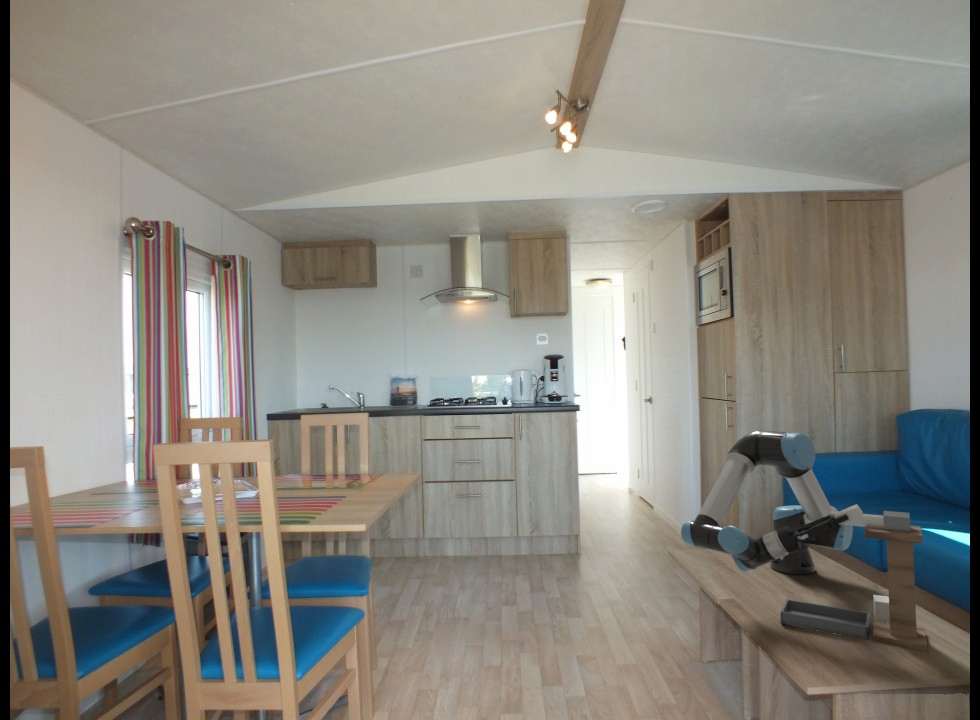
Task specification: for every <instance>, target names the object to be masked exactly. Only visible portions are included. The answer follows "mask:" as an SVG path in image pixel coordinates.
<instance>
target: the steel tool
mask: <svg viewBox="0 0 980 720" xmlns="http://www.w3.org/2000/svg"><path fill="white" fill-rule="evenodd" d="M837 511H838V510H837ZM837 511H831V513H830V515H831V518H832V517H834V516H835V515H838V514H840V513H842V512H840V511H838V512H837ZM834 518H835V517H834ZM841 525H851V526H854V527H861V528H862V527H863V528H865V527H872V528H882V529H884V530H886V531H896V532H906V533H910V525H911V517H910V512H903V511H891V510H883V515H880V514H870V513H869V514H868V513H862V516H861V517H858V518H856V519H853V520H851V521H849V522H846V523H844V524H841Z"/></svg>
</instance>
